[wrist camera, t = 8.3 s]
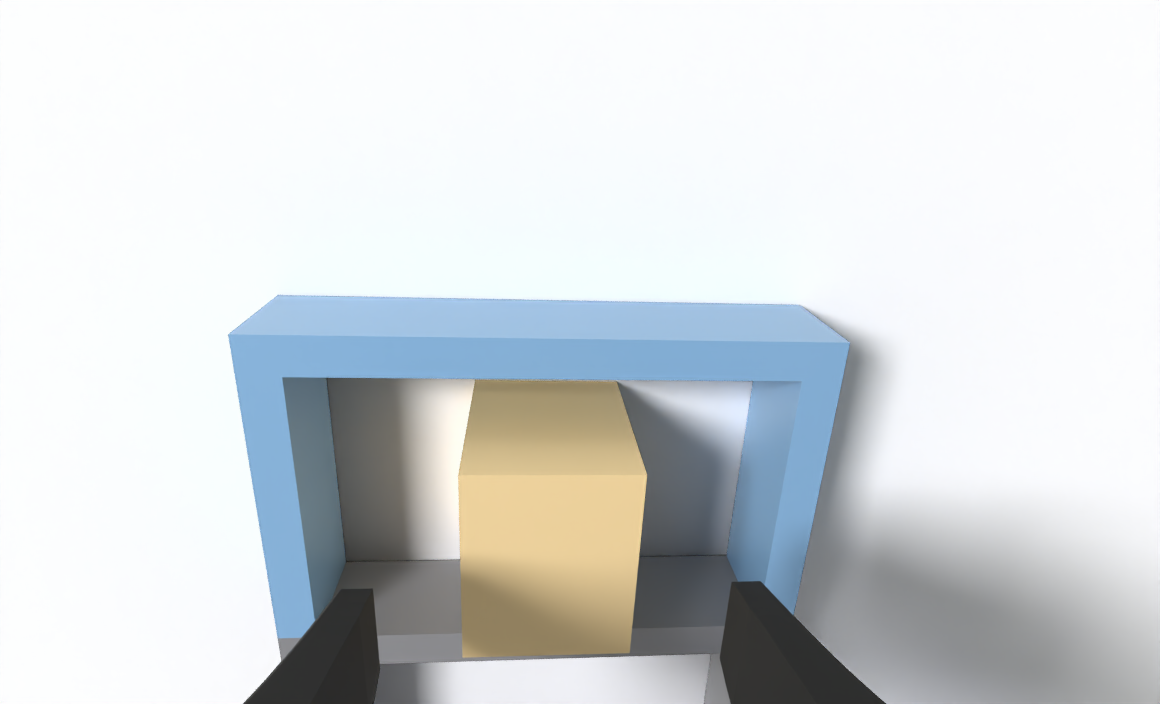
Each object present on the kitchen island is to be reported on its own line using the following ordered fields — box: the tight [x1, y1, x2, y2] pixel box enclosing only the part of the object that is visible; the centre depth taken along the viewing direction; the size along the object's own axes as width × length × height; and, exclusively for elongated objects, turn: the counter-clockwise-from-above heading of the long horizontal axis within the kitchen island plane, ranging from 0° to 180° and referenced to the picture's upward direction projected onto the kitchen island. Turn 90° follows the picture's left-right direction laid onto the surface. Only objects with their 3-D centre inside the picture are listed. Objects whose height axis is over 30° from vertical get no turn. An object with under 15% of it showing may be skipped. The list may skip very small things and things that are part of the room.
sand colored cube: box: [458, 380, 647, 658], centre depth 17 cm, size 4×5×5 cm
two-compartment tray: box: [228, 295, 850, 704], centre depth 19 cm, size 14×18×3 cm
